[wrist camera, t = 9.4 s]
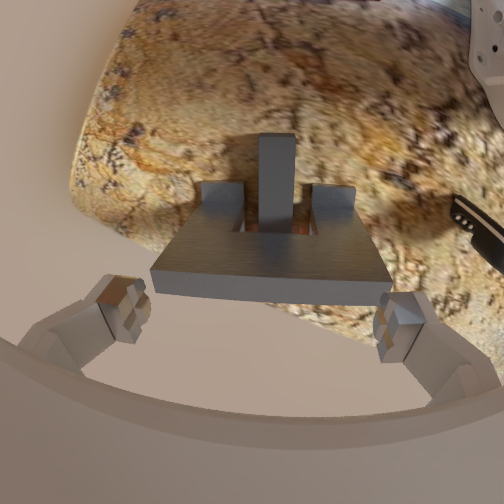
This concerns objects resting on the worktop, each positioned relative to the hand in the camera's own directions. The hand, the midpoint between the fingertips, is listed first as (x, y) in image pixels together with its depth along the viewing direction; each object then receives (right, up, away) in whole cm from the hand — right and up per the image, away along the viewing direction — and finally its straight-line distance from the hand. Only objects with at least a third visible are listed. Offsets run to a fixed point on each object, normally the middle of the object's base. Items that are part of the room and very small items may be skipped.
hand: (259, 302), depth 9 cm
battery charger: (+26, +6, +17) cm, 32 cm away
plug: (+2, +6, +20) cm, 21 cm away
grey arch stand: (+2, +6, +20) cm, 21 cm away
